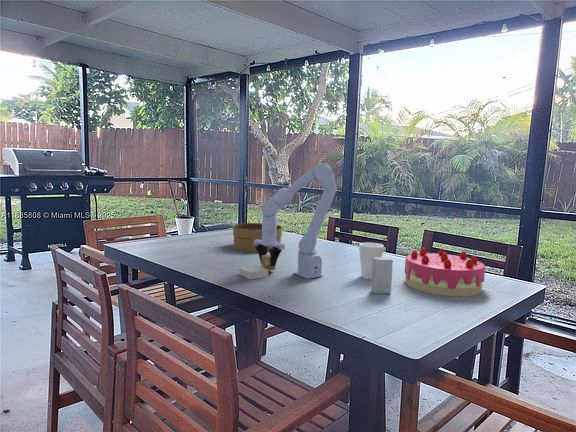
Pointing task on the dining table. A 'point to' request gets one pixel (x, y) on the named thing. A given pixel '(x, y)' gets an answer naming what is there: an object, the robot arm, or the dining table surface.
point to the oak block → (267, 262)
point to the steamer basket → (251, 236)
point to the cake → (444, 273)
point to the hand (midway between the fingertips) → (268, 264)
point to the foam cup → (369, 257)
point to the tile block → (253, 272)
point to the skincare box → (381, 275)
